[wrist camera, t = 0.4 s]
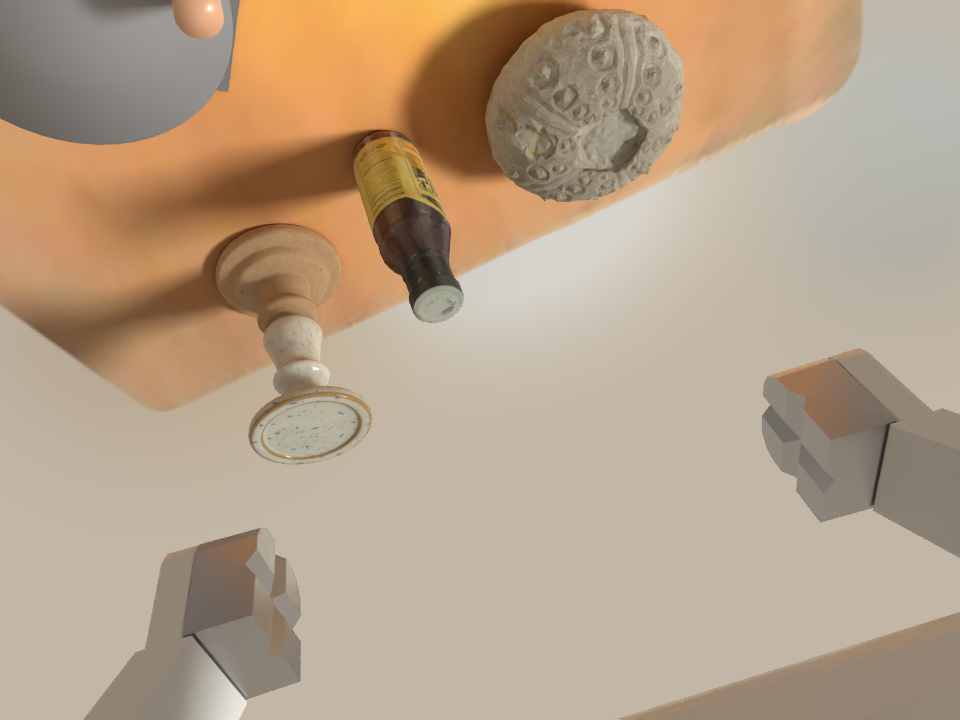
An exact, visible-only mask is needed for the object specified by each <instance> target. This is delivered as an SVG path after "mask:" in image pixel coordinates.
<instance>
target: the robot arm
mask: <svg viewBox="0 0 960 720" xmlns="http://www.w3.org/2000/svg"><path fill="white" fill-rule="evenodd" d="M763 396H764V397H765V398H766V400H767V401H768V402H769V403H770V406H769V407H768V409H767V410H766V411H765V413H764V414H763V416H762V433H763V436H764V440H765V443H766V447H767V449H768V451H769V453H770V455H771V457H772V459H773V460H774V462H775V463H776V464H777V466H778V467H779V468H780V470H781V471H783V472H785V473H788V474H790V475H792V476H795V477H797V493H798V494H799V495H800V496H801V498H802V499H803V500H804V502H805V503H806V504H807V506H808V507H809V508H810V510H811V511H812V512H813V513H814V515H815V516H816V517H817V518H818V520H819V521H820V522H823V521H827V520H831V519H834V518H838V517H841V516H845V515H849V514H852V513H856V512H860V511H863V510H867V509H870V508H873V511H875V512H877V513H878V514H880V515H882V516H884V517H886V518H888V519H889V520H891V521H893V522H895V523H897V524H899V525H901V526H902V527H904V528H906V529H908V530H910V531H912V532H913V533H915V534H917V535H919V536H921V537H923V538H924V539H926V540H928V541H930V542H932V543H934V544H935V545H937V546H939V547H941V548H943V549H945V550H946V551H948V552H950V553H952V554H954V555H956V556H957V557H959V558H960V414H958V413H954V412H951V411H948V410H945V409H939V410H936V411H932V410H931V409H930V408H929V407H928V406H927V405H926V404H925V403H924V402H922V401H921V400H920V399H919V398H918V397H917V396H916V395H915V394H914V393H913V392H911V391H910V390H909V389H908V388H907V387H906V386H905V385H904V384H903V383H901V382H900V381H899V380H898V379H897V378H896V377H895V376H894V375H893V374H892V373H890V372H889V371H888V370H887V369H886V368H885V367H884V366H883V365H882V364H880V363H879V362H878V361H877V360H876V359H875V358H874V357H872V355H870V354H869V353H868V352H867V351H865V350H862V349H860V348H858V349H854V350H851V351H848V352H845V353H841V354H838V355H835V356H832V357H829V358H827V359H822V360H819V361H815V362H812V363H809V364H806V365H802V366H799V367H796V368H793V369H790V370H786V371H783V372H780V373H777V374H773V375H770V376H768V377H767V378H766V380H765V382H764V390H763ZM300 614H301V613H300V596H299V590H298V585H297V581H296V578H295V575H294V573H293V570H292V568H291V566H290V565H289V563H288V561H287V559H285V558H283V557H280V556H278V555H275V540H274V539H273V537H272V536H271V534H270V533H269V531H268V530H267V528H259V529H255V530H251V531H248V532H244V533H240V534H237V535H234V536H229V537H226V538H222V539H218V540H215V541H211V542H207V543H204V544H200V545H199V546H195V547H191V548H188V549H184V550H180V551H177V552H173V553H169V554H167V556H166V557H165V559H164V560H163V562H162V564H161V569H160V574H159V579H158V584H157V590H156V595H155V600H154V605H153V611H152V615H151V621H150V626H149V631H148V636H147V641H146V647H145V649H144V650H141V651H138V652H135V653H134V655H133V656H132V657H131V659H130V660H129V661H128V662H127V664H126V665H125V666H124V668H123V669H122V670H121V672H120V673H119V674H118V676H117V677H116V678H115V679H114V681H113V682H112V683H111V685H110V686H109V687H108V689H107V690H106V691H105V692H104V694H103V695H102V696H101V698H100V699H99V700H98V702H97V703H96V704H95V705H94V707H93V708H92V709H91V711H90V712H89V713H88V714H87V716H86V717H85V718H84V720H239V718H240V716H241V714H242V712H243V710H244V708H245V706H246V704H247V701H246V699H249V698H252V697H255V696H258V695H261V694H264V693H267V692H270V691H273V690H275V689H279V688H282V687H285V686H288V685H291V684H294V683H297V682H300V654H301V653H300V651H301V650H300V649H301V648H300V647H301V645H300V644H301V642H300V640H299V639H298V637H297V636H296V634H295V632H294V631H293V627H294V626H295V624H296V623H297V621H298V619H299V618H300V616H301V615H300ZM616 720H960V612H959V613H956V614H952V615H949V616H946V617H943V618H940V619H936V620H933V621H930V622H927V623H924V624H921V625H917V626H914V627H911V628H908V629H904V630H901V631H898V632H895V633H892V634H888V635H885V636H882V637H879V638H876V639H873V640H869V641H866V642H863V643H860V644H856V645H853V646H850V647H847V648H844V649H840V650H837V651H834V652H831V653H828V654H824V655H821V656H818V657H815V658H811V659H808V660H805V661H802V662H798V663H796V664H792V665H789V666H786V667H783V668H779V669H776V670H773V671H770V672H766V673H764V674H760V675H757V676H754V677H751V678H747V679H744V680H741V681H738V682H734V683H731V684H728V685H725V686H722V687H718V688H715V689H712V690H709V691H706V692H702V693H699V694H696V695H693V696H690V697H686V698H683V699H680V700H677V701H674V702H670V703H667V704H664V705H661V706H657V707H654V708H651V709H648V710H645V711H641V712H639V713H635V714H632V715H629V716H626V717H623V718H619V719H616Z"/></svg>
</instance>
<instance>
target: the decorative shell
mask: <svg viewBox="0 0 960 720" xmlns="http://www.w3.org/2000/svg"><path fill="white" fill-rule="evenodd" d="M683 86H684V75H683V62H682V60H681V58H680V56H679V54H678V52H677V51H676V50H675V48H674V47H673V45H672V44H671V42H670V41H669V40H668V39H667V38H666V37H665V35H664V33H663V31H662V29H661V28H659V27H658V26H657V25H655V24H653V23H652V22H651V21H650V20H649V19H648V18H647V17H646V16H645V15H639V14H635V13H633V12H630V11H625V10H620V9H601V10H594V9H592V10H584V11H581V10H578V11H575V12H572V13H569V14H566V15H563V16H560V17H556V18H554V19H553V20H552V21H550V22H547V23H545V24H543V25H542V26H541V27H540V28H539V29H538V30H537V32H535V33H534V34H533V35H532V36H530V37H529V38H528V39H526V40H525V41H524V42H523V43H522V44H521V45H520V47H519V49H518V51H517V52H516V53H515V54H514V55H513V56H512V57H511V58H510V60H509V61H508V62H507V64H506V65H505V66H504V67H503V69H502V71H501V73H500V74H499V76H498V78H497V79H496V81H495V83H494V84H493V88H492V92H491V95H490V98H489V101H488V103H487V108H486V115H485V123H486V129H487V136H488V140H489V143H490V146H491V152H492V157H493V158H494V160H495V161H496V163H497V164H498V165H499V166H500V167H501V170H502V171H503V172H504V174H505V175H506V176H507V177H508V178H509V179H510V180H512V181H514V183H515V184H516V185H517V186H519V187H521V188H523V189H524V190H526V191H529V192H531V193H534V194H537V195H539V196H540V197H541V198H543V200H544V201H546V200H549V199H553V200H555V201H557V202H559V201H562V202H571V201H577V200H590V199H594V200H597V199H598V198H599V197H602V196H605V195H608V194H610V193H613V192H615V191H616V190H617V189H618V188H622V187H624V186H626V185H627V184H628V183H629V182H631V181H633V180H635V179H637V178H638V177H639V176H640V175H641V174H648V173H649V172H650V167H651V166H652V165H653V164H654V163H655V162H656V161H657V160H658V159H659V157H660V156H661V155H662V153H663V152H664V151H665V149H666V148H667V146H668V144H669V143H670V142H671V141H672V136H673V134H674V131H676V130H678V129H679V124H678V121H679V117H680V114H681V110H682V109H681V105H682V96H683Z"/></svg>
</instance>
